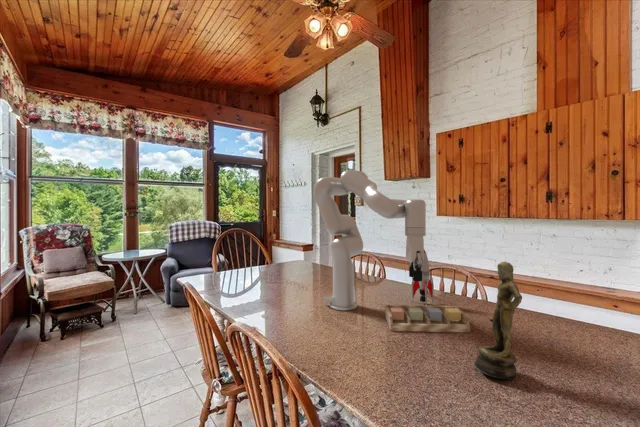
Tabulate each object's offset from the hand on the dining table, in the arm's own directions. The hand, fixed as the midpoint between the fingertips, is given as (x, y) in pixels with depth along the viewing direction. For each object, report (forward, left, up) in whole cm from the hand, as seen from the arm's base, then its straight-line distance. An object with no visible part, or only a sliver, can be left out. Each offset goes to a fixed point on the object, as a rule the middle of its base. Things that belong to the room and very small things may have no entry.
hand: (415, 278), depth 118 cm
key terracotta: (-7, 0, -15) cm, 17 cm away
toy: (+9, +24, -18) cm, 31 cm away
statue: (+13, -35, -18) cm, 42 cm away
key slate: (+7, 0, -15) cm, 17 cm away
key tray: (+3, 0, -18) cm, 18 cm away
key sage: (0, 0, -15) cm, 15 cm away
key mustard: (+14, 0, -15) cm, 21 cm away
